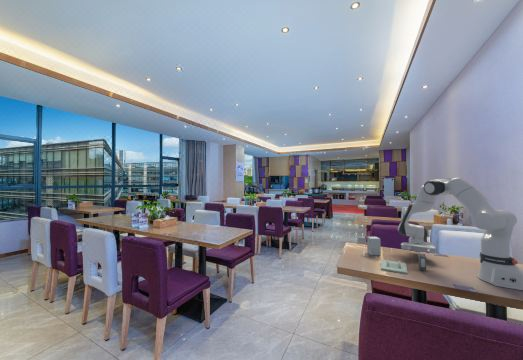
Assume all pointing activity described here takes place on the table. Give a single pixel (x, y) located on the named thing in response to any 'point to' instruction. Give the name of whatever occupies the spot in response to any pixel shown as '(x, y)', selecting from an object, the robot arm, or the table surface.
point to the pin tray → (394, 266)
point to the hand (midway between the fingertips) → (419, 250)
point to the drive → (422, 262)
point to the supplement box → (374, 245)
